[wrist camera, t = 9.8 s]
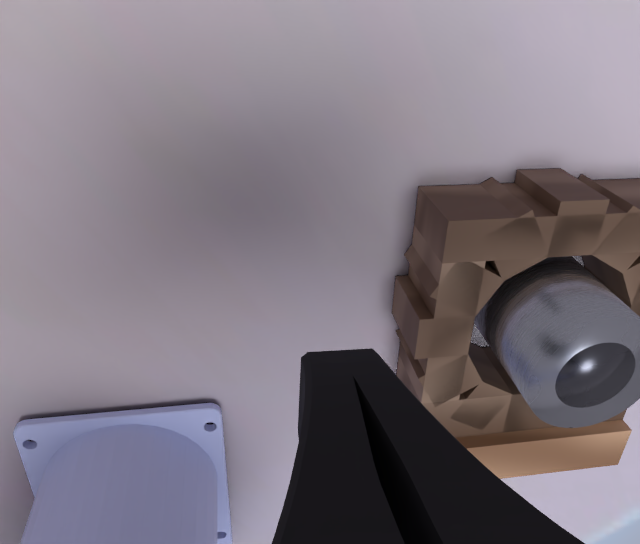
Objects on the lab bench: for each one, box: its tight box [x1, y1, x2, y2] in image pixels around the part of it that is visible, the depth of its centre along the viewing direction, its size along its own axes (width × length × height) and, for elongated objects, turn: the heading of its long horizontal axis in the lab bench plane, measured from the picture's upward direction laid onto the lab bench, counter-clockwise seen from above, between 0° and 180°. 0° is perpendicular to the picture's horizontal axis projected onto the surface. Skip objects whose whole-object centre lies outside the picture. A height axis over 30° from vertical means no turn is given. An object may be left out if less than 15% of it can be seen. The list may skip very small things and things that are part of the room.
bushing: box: [474, 256, 640, 428], centre depth 20 cm, size 4×4×6 cm
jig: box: [392, 168, 640, 479], centre depth 22 cm, size 12×10×4 cm
